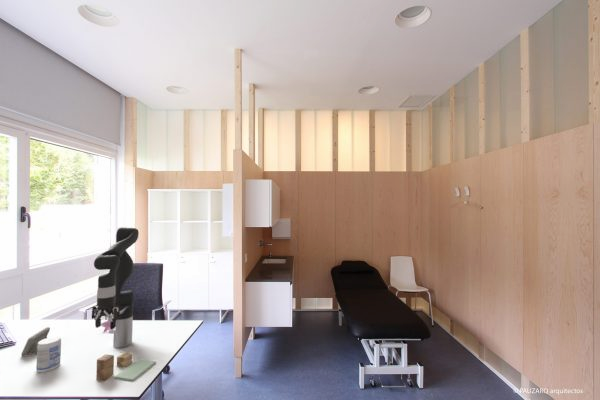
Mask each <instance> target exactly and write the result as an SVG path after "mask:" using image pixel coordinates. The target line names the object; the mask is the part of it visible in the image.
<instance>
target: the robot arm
mask: <svg viewBox="0 0 600 400" xmlns="http://www.w3.org/2000/svg"><path fill="white" fill-rule="evenodd" d="M139 233H140V232H139V229H137V228H136V227H120V226H119V228H117V230H116V234H115V243H112V245H111V246H110V247H109V248H108V249H107V250H106V251H104V252H103V253H100V254H99V255H97V256H96V258H95V259H94V262H93V266H94V268H95V269H96V270H98V271H99V270H100V271H102V270H103V271H104V270H105V271H106V270H109V271H108V273H103V274H100V275H99V276H98V278H97V279H98V280H97V293H96V305H94V306H92V307H91V308H92V309H91V319H92V320H94V326H95V328H96V329H98V328H100V327H102V326H101V323H102V317H106V318H107V319H108V318H109V319H110V321H111V322H110V329H113V328H114V332H113V339H112V342H113V347H114V348H116V349H121V348H126V347H129V346H131V345H132V344H133V325H134V324H133V322H134V321H133V320H134V319H133V318H134V317H133V315H134V298H135V295H134V294H135V293H134V291H133V290H131V289H129V290H124V291H122V289H123V286H124V285H125V284H126V282H127V281H128V280H129V278H130V277H131V275H132V274H133V272H134V261H133V259H132V257H131V255H130V254H129V252H128V251H127V249H129V248H131V246H132V245H134V244H135V243H136V242H137V240H138V239H139ZM122 307H124V308H123V309H121V310H120V308H122Z"/></svg>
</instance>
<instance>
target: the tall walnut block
mask: <svg viewBox="0 0 600 400" xmlns="http://www.w3.org/2000/svg"><path fill="white" fill-rule="evenodd" d="M114 362H115V355H114V354H104V355H102V356H101V357H99V358H97V359H96V375H95V377H96V378H95V379H96V381H104V382H106V381H107V380H109V379H110V378H111V377H112V375H113V376H114V370H115V369H114V366H115V365H114V364H115V363H114Z"/></svg>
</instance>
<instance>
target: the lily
mask: <svg viewBox="0 0 600 400" xmlns="http://www.w3.org/2000/svg"><path fill="white" fill-rule="evenodd" d="M110 322H111V321H110V319H109V318H108V317H107V321H104V322H101V326H100V327H102V328H104V329H103V331H102V333H103V334H105V333H106V332H109V333H111V334H114V330H115V328H113V329H110Z"/></svg>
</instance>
